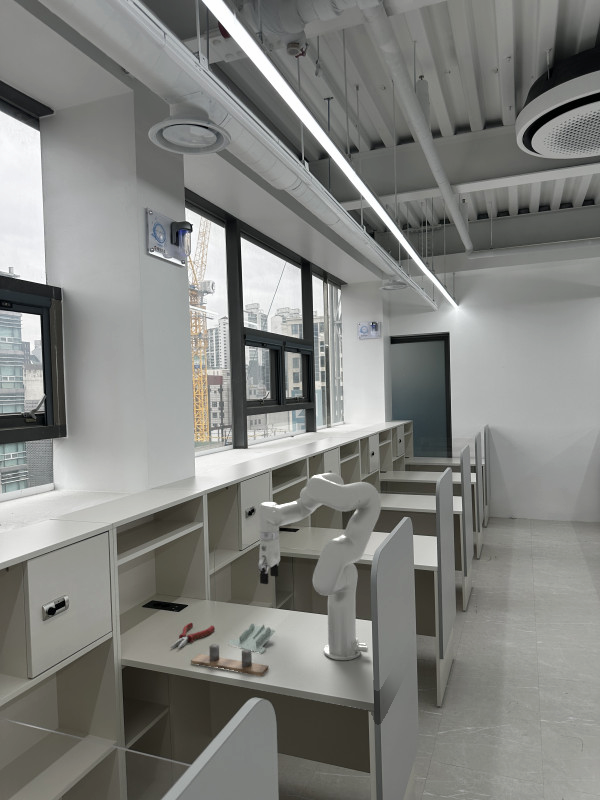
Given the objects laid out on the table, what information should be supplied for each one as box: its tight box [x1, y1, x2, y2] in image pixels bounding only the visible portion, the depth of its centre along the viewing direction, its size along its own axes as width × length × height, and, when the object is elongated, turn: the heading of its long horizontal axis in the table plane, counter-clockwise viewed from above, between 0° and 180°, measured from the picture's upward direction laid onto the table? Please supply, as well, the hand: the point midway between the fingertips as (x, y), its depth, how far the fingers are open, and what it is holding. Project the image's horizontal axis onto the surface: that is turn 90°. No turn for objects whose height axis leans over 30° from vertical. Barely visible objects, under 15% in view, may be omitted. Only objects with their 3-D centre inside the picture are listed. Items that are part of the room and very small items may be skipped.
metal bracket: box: [228, 623, 276, 654], centre depth 201 cm, size 14×6×15 cm
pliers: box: [170, 622, 215, 650], centre depth 205 cm, size 12×20×3 cm, turn 161°
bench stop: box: [190, 643, 270, 677], centre depth 183 cm, size 26×5×6 cm, turn 69°
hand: (269, 579), depth 214 cm, fingers open, 9 cm apart
